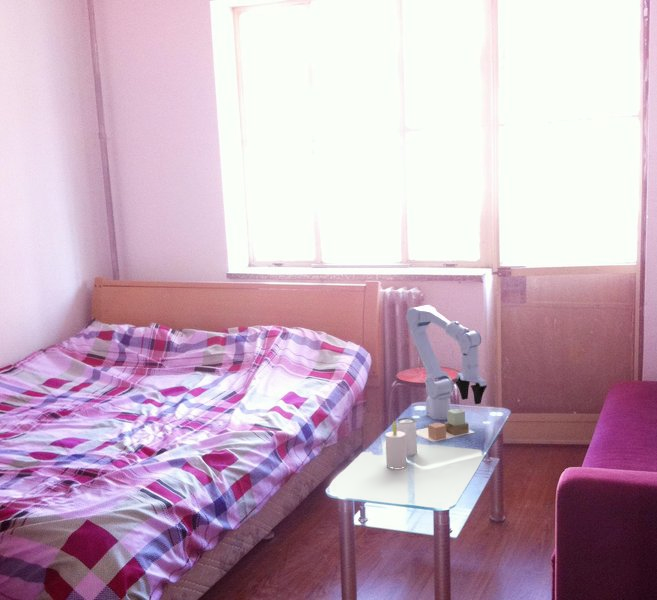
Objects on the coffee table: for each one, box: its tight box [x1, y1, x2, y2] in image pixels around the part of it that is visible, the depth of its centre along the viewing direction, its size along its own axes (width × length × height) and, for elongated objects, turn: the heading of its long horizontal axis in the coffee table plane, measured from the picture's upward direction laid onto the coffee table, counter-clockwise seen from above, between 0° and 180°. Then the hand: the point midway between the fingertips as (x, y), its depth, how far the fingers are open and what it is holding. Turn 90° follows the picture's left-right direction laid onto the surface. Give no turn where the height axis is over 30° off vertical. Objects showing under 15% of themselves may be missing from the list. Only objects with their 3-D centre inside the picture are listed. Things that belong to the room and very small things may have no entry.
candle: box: [384, 420, 407, 468], centre depth 244 cm, size 6×6×15 cm
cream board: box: [416, 423, 475, 443], centre depth 274 cm, size 14×18×1 cm
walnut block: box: [444, 421, 470, 435], centre depth 273 cm, size 6×6×3 cm
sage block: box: [446, 408, 466, 426], centre depth 272 cm, size 4×4×4 cm
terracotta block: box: [427, 422, 446, 441], centre depth 268 cm, size 4×4×4 cm
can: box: [396, 417, 418, 457], centre depth 253 cm, size 6×6×12 cm
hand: (471, 401), depth 278 cm, fingers open, 7 cm apart
